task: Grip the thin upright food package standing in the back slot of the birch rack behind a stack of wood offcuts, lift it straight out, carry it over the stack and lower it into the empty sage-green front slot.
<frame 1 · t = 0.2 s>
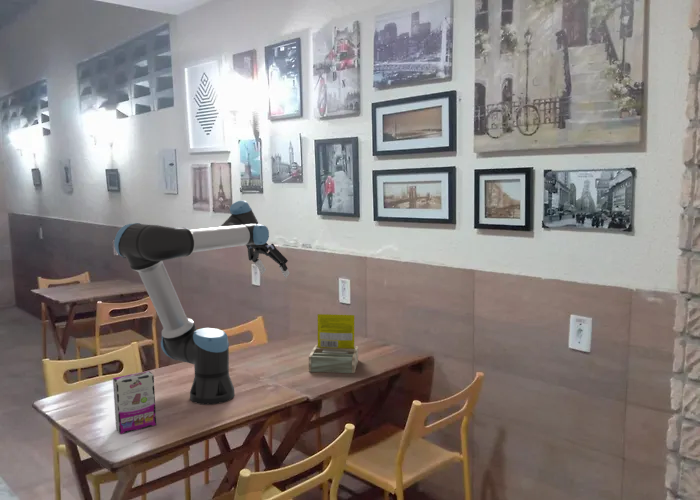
hand: (275, 273, 248), 36 cm above the table, tool tilted 35°, fingers open, 13 cm apart
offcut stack: (334, 365, 240), resting in rack
rack: (334, 364, 242), on the table
candy bar box: (135, 427, 181), on the table
food package: (335, 362, 246), resting in rack
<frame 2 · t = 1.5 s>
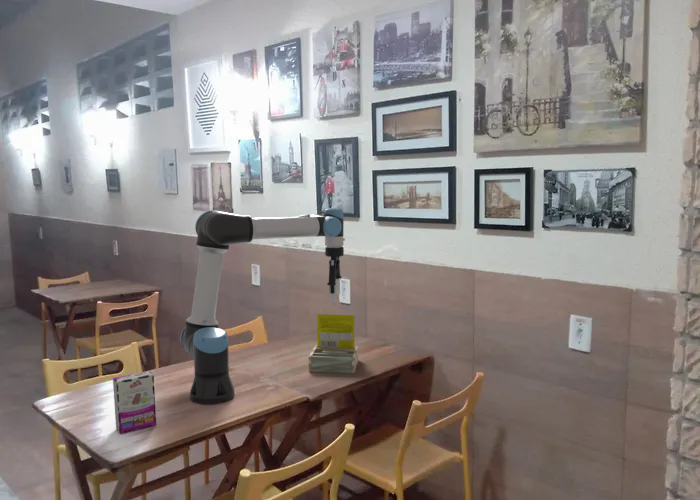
hand: (334, 297, 242), 27 cm above the table, tool pointing down, fingers open, 13 cm apart
nothing on the table moved.
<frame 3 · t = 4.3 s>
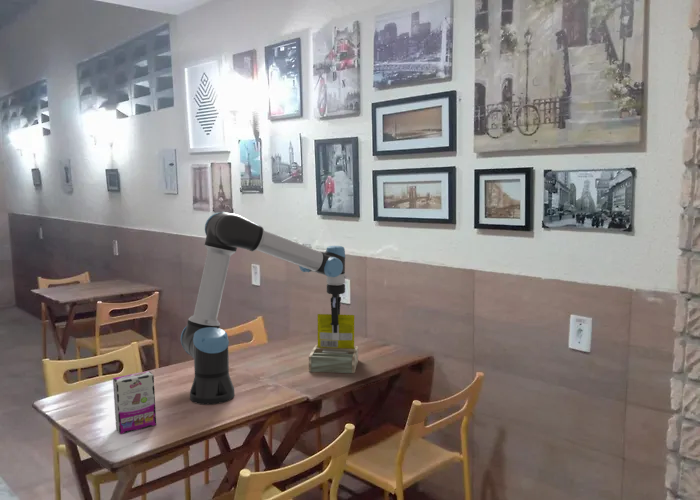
hand: (335, 339, 244), 9 cm above the table, tool pointing down, fingers closed on food package
food package: (335, 361, 246), resting in rack, touching gripper
everything else where it was.
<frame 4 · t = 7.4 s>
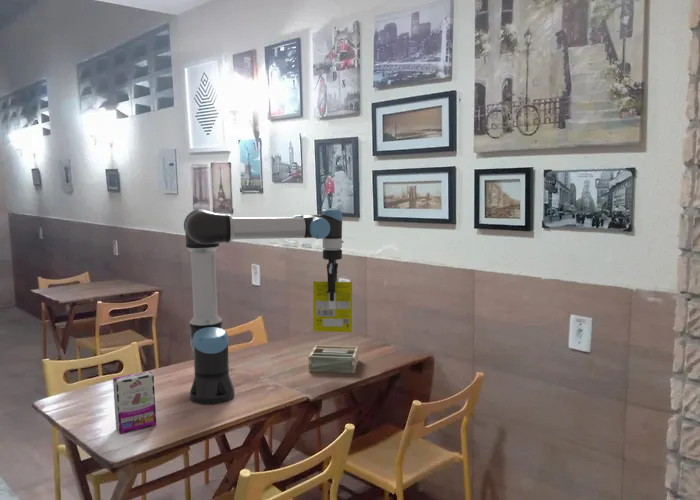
hand: (332, 308, 232), 25 cm above the table, tool pointing down, fingers closed on food package
food package: (332, 332, 233), point 15 cm above the table, touching gripper
everything else where it was.
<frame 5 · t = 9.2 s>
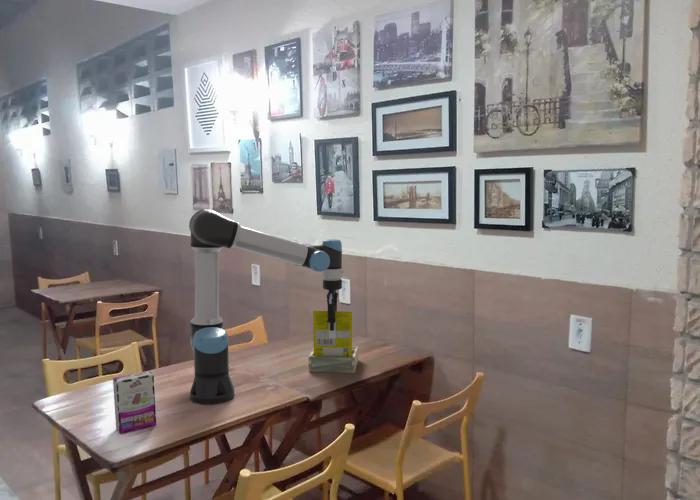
hand: (332, 337, 233), 13 cm above the table, tool pointing down, fingers closed on food package
food package: (332, 361, 234), point 4 cm above the table, touching gripper
everything else where it was.
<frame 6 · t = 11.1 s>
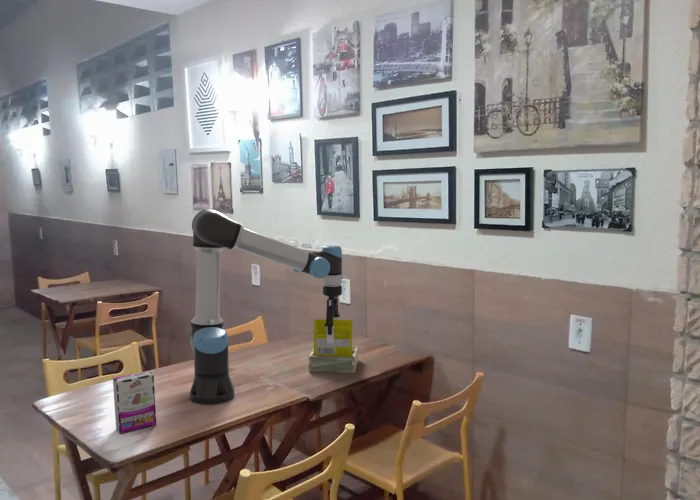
hand: (332, 337, 233), 13 cm above the table, tool pointing down, fingers open, 13 cm apart
food package: (332, 370, 234), resting in rack
everything else where it was.
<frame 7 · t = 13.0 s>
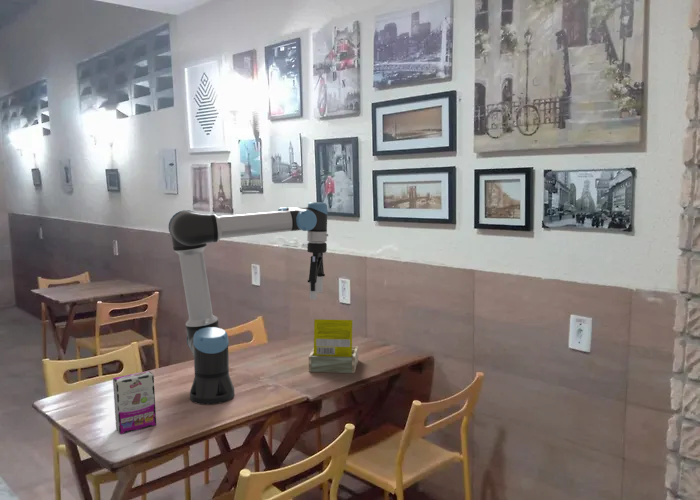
hand: (316, 295, 231), 30 cm above the table, tool pointing down, fingers open, 13 cm apart
nothing on the table moved.
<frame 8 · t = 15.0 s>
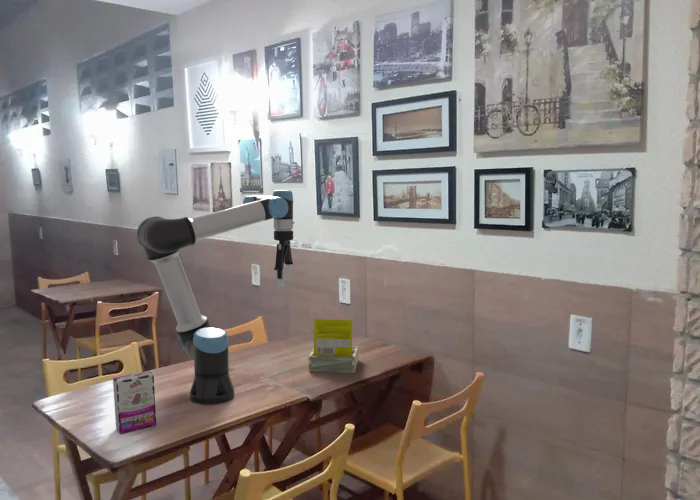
hand: (284, 283, 231), 35 cm above the table, tool pointing down, fingers open, 13 cm apart
nothing on the table moved.
at the end: food package inside the target area on the rack (0.4 cm from its centre), point 0.0 cm above the rack's base; food package tilted 11°; the gripper is holding nothing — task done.
